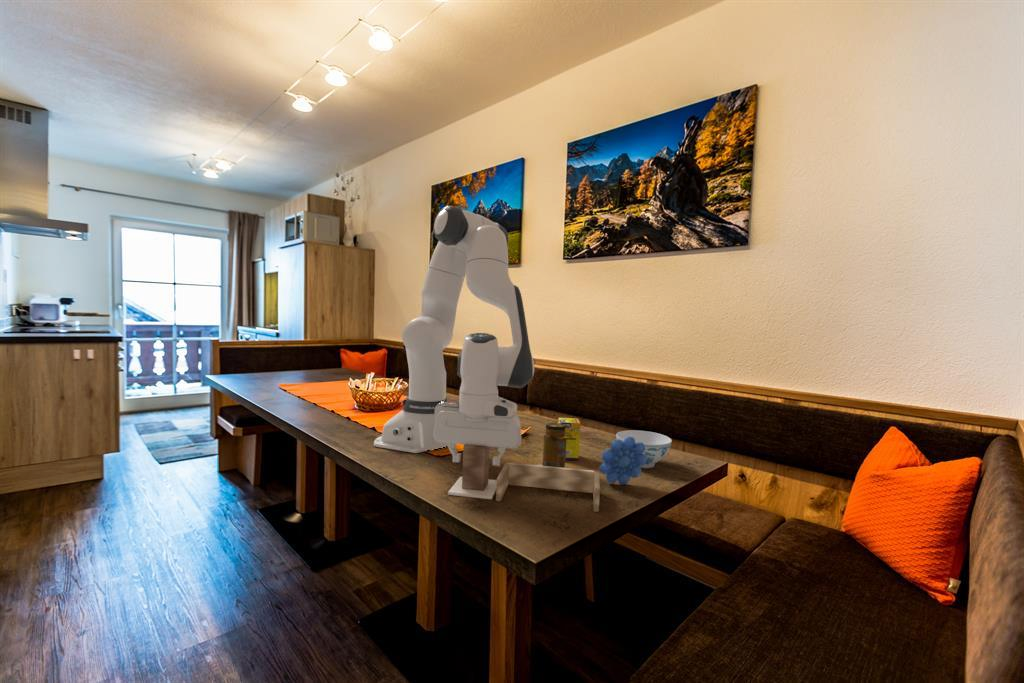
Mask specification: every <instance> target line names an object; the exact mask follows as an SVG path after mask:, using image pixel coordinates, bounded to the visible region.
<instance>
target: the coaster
mask: <svg viewBox="0 0 1024 683" xmlns="http://www.w3.org/2000/svg"><path fill="white" fill-rule="evenodd" d="M496 488H497V479H490V478H488V484H487V486H486V488H485V489H484V491H477V490H467V489H462V476H459V478H457V480H456V481H455V483H453V486H452V487H450V489H449V490H448V491H447V495H450V496H457V497H458V496H459V497H467V498H475V499H477V498H478V499H483V500H484V499H485V500H493V499H494V497H495V496H496Z"/></svg>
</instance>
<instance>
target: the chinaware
mask: <svg viewBox="0 0 1024 683" xmlns="http://www.w3.org/2000/svg"><path fill="white" fill-rule="evenodd" d="M615 436H616V437H615V438H616V439H617V440H621V441H622V442H623V441H624V439H625V438H627V437H633V438H634V439H635V443H637V442H641V443H643V444H644V446H645V450H644V452H643V453H642V454H645V455H646V456H647V462H646V464H645V465H643V466H640V467H641V469H643V468H644V469H651V468H654V467H655V464H656V463H658V462H660V461H661V460H663V459H664V458H665V456H666V455H667V454H668V452H669V451H670V448H671V445H672V444H673V443H672V441H673V440H672V438H670V437H669V436H667V435H664V434H661V433H659V432H658V433H657V432H653V431H647V430H646V431H645V430H638V429H637V430H635V429H633V430H622V431H618V432H616V434H615Z"/></svg>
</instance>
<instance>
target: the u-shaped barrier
mask: <svg viewBox="0 0 1024 683" xmlns="http://www.w3.org/2000/svg"><path fill="white" fill-rule="evenodd" d="M496 480H497V488H496V493H495V502H496V501H497V502H501V501H502V498H503V497H504V494H505V492H506V490H507V488H508V486H519V487H520V486H521V487H528V488H529V487H530V488H531V487H532V488H541V489H547V490H558V491H568V492H576V493H577V492H578V493H579V492H580V493H588V494H592V495H593V496H592V497H593V512H595V513H596V512H600V493H601V486H600V484H601V483H600V470H591V469H579V468H569V467H565V468H561V467H550V466H539V465H538V464H527V463H517V462H505V463H504V465H503V466H502V469H501V470H500V472H499V473H498V476H497V477H496Z"/></svg>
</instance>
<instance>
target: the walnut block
mask: <svg viewBox="0 0 1024 683" xmlns="http://www.w3.org/2000/svg"><path fill="white" fill-rule="evenodd" d="M462 448H463V449H462V450H463V453H462V473H461V474H462V476H461V477H462V489H467V490H477V491H484V489H485V488H486V486H487V484H488V479H489V471H490V469H489V468H490V467H489V466H490V448H491V447H487V446H476V445H465V444H463V447H462Z"/></svg>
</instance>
